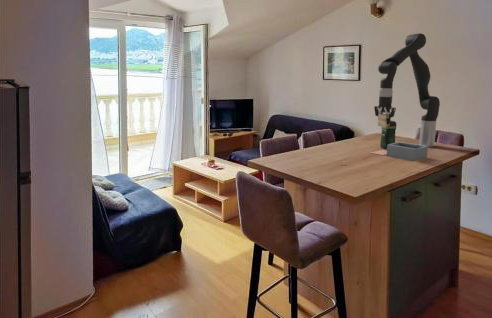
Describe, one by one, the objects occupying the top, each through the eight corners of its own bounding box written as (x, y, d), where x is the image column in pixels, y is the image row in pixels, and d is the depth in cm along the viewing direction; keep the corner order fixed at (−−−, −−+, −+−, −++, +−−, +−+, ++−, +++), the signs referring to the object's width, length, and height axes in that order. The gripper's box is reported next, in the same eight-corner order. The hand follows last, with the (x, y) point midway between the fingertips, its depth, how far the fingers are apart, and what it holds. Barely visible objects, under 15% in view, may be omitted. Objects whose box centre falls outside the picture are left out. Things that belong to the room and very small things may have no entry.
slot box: (399, 152, 258) (400, 141, 256) (426, 157, 244) (427, 146, 242) (386, 156, 249) (387, 144, 248) (414, 161, 236) (415, 149, 234)
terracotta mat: (381, 150, 264) (381, 149, 264) (393, 152, 258) (393, 152, 257) (370, 153, 257) (370, 152, 257) (382, 155, 250) (382, 154, 250)
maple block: (382, 124, 257) (383, 113, 255) (389, 125, 253) (390, 114, 251) (377, 125, 254) (378, 114, 252) (384, 126, 250) (385, 115, 248)
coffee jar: (396, 149, 268) (398, 120, 264) (385, 149, 267) (387, 121, 262) (388, 146, 277) (390, 118, 273) (378, 147, 276) (379, 119, 271)
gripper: (399, 96, 246) (397, 124, 250) (379, 94, 257) (377, 121, 261) (392, 96, 241) (390, 125, 245) (371, 95, 252) (370, 123, 256)
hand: (383, 123), depth 253 cm, fingers closed on maple block, 5 cm apart
